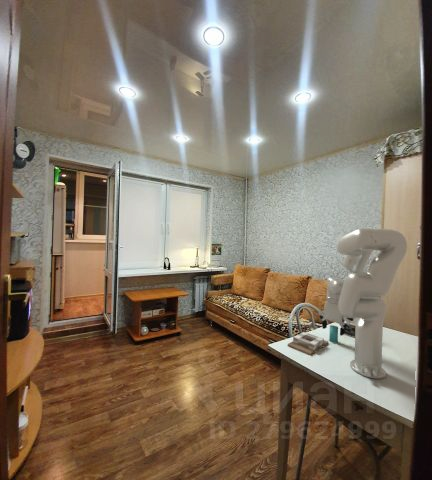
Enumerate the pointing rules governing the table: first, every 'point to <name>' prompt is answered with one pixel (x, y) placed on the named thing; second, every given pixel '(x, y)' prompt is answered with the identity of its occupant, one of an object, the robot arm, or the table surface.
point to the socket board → (304, 349)
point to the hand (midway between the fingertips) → (333, 331)
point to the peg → (333, 334)
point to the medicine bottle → (351, 327)
